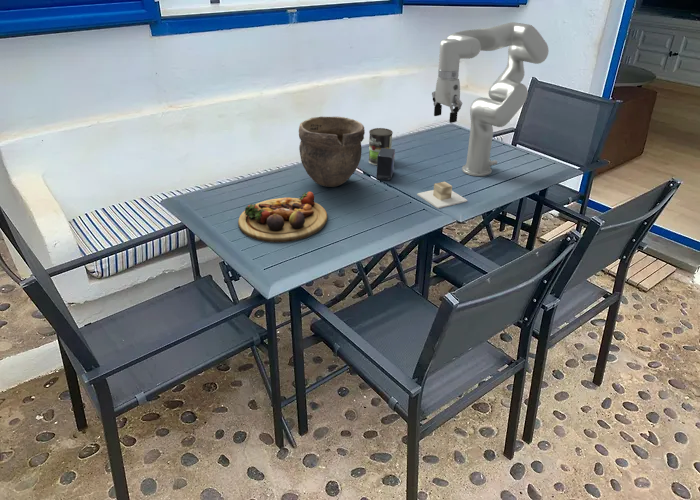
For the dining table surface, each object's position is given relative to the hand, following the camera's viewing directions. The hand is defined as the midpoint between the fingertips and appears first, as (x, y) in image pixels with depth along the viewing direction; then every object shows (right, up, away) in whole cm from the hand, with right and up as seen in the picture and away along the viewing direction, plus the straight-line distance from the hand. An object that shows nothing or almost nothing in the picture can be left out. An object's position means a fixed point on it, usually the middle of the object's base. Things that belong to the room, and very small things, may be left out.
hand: (445, 118), depth 213 cm
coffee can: (-24, -11, +35) cm, 43 cm away
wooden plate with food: (-61, -41, -16) cm, 76 cm away
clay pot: (-45, -24, +14) cm, 52 cm away
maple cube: (-1, -30, +1) cm, 30 cm away
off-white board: (-1, -31, +1) cm, 31 cm away
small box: (-22, -20, +21) cm, 36 cm away
